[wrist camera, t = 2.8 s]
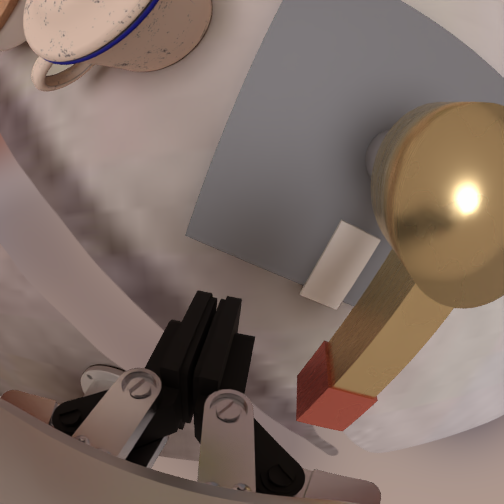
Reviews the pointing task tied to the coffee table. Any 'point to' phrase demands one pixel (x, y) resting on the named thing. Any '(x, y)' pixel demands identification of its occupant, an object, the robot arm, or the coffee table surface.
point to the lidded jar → (11, 24)
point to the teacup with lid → (110, 35)
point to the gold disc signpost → (417, 254)
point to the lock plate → (326, 138)
